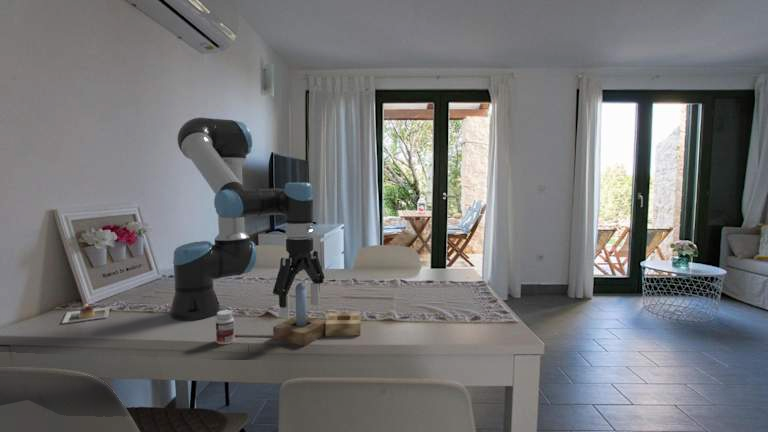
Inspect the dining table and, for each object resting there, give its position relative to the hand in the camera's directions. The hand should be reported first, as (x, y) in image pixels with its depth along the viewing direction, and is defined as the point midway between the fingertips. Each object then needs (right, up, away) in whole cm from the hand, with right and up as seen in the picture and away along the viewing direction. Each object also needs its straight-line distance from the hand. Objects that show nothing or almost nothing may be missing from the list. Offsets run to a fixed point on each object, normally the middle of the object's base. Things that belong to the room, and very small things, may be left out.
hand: (300, 311), depth 123 cm
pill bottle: (-20, -8, -4) cm, 22 cm away
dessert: (-73, -6, +18) cm, 76 cm away
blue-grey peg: (0, -7, +1) cm, 7 cm away
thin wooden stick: (-15, -7, 0) cm, 16 cm away
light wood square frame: (+12, -7, +6) cm, 15 cm away
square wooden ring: (0, -7, +1) cm, 7 cm away
